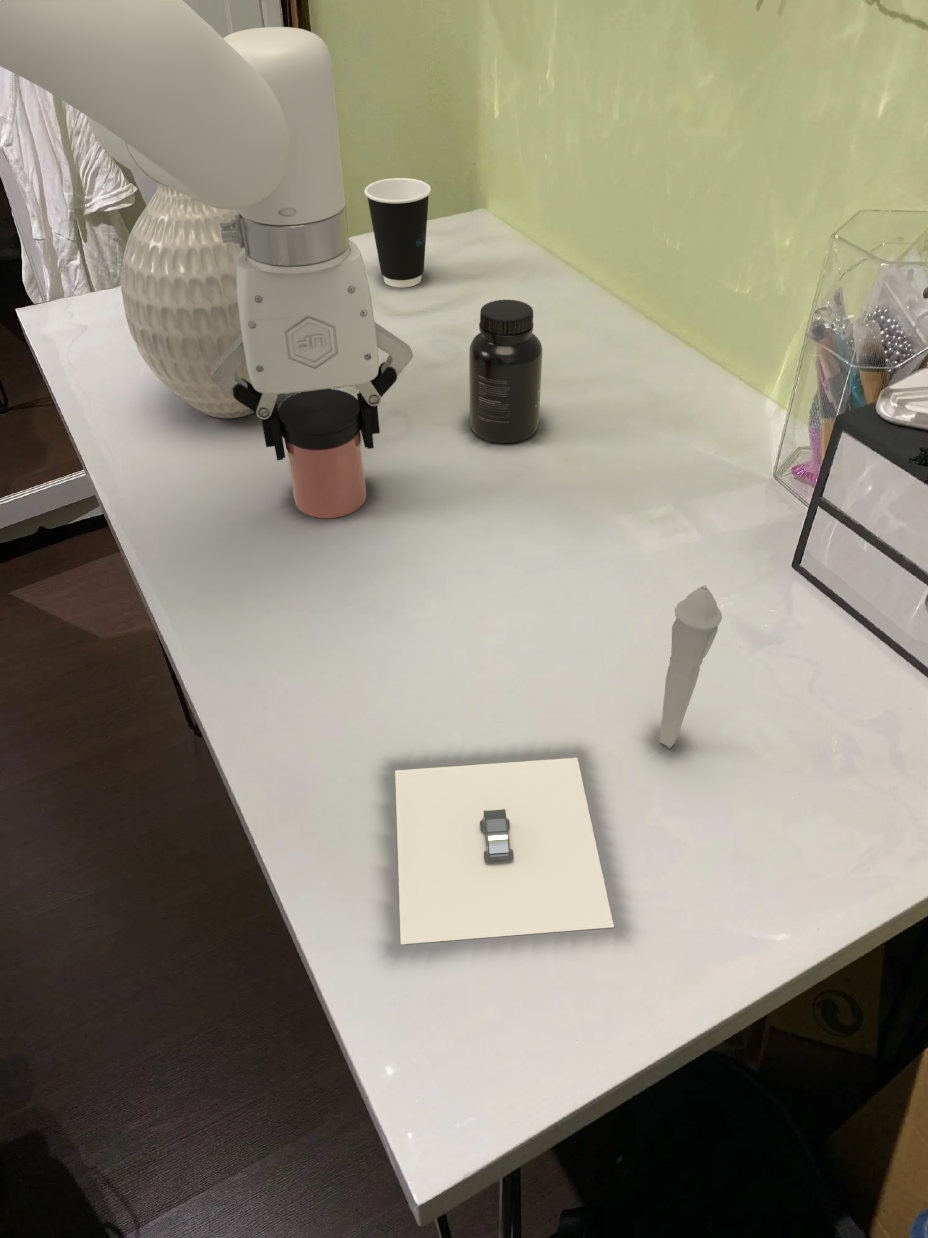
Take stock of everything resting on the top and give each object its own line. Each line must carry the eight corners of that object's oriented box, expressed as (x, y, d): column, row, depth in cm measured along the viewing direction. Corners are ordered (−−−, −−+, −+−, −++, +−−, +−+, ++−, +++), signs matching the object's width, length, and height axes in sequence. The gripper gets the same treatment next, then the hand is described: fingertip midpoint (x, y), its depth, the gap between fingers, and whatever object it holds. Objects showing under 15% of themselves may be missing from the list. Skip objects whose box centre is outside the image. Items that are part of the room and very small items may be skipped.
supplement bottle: (552, 431, 89) (560, 313, 81) (496, 453, 86) (498, 334, 78) (511, 402, 93) (514, 287, 85) (456, 422, 90) (454, 305, 82)
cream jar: (297, 523, 78) (283, 439, 73) (292, 481, 83) (278, 399, 77) (371, 513, 79) (363, 429, 74) (361, 472, 84) (353, 391, 78)
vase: (289, 352, 101) (256, 134, 86) (332, 422, 90) (303, 186, 75) (141, 381, 97) (78, 156, 81) (168, 459, 86) (102, 216, 71)
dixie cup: (363, 272, 117) (356, 182, 109) (421, 263, 119) (417, 173, 111) (382, 296, 112) (376, 203, 104) (443, 286, 114) (440, 194, 106)
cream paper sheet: (400, 944, 50) (399, 931, 49) (395, 770, 59) (393, 756, 58) (613, 927, 51) (616, 914, 50) (577, 757, 60) (579, 743, 59)
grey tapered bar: (660, 722, 62) (694, 564, 52) (695, 742, 61) (737, 584, 51) (640, 744, 60) (672, 587, 51) (676, 765, 59) (715, 607, 50)
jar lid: (282, 454, 73) (279, 436, 72) (276, 411, 78) (273, 393, 77) (367, 443, 74) (365, 425, 73) (356, 401, 79) (354, 384, 78)
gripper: (171, 265, 61) (222, 484, 74) (423, 241, 64) (432, 456, 76) (172, 225, 67) (219, 435, 79) (405, 205, 69) (416, 411, 82)
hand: (323, 444), depth 77 cm, fingers closed on jar lid, 6 cm apart
